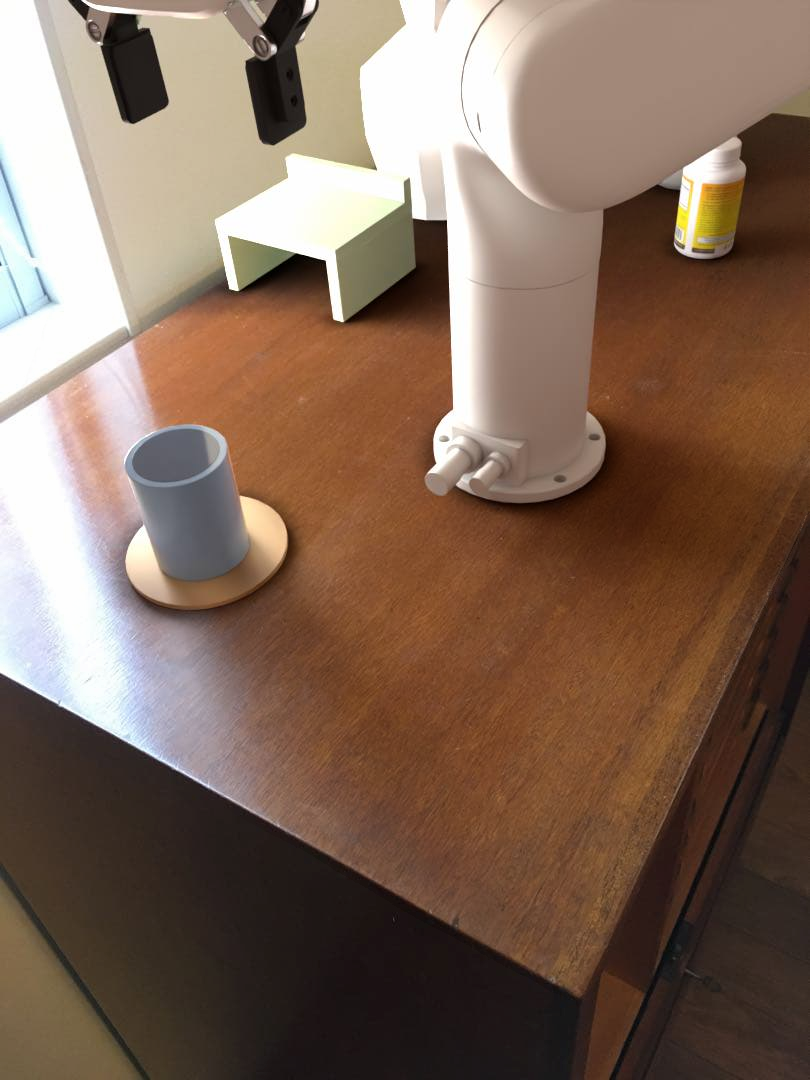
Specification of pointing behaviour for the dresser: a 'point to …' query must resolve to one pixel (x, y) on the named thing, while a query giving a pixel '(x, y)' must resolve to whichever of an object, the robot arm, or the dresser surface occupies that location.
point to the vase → (408, 108)
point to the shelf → (325, 229)
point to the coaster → (224, 589)
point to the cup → (188, 501)
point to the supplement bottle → (710, 202)
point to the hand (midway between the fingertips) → (212, 124)
